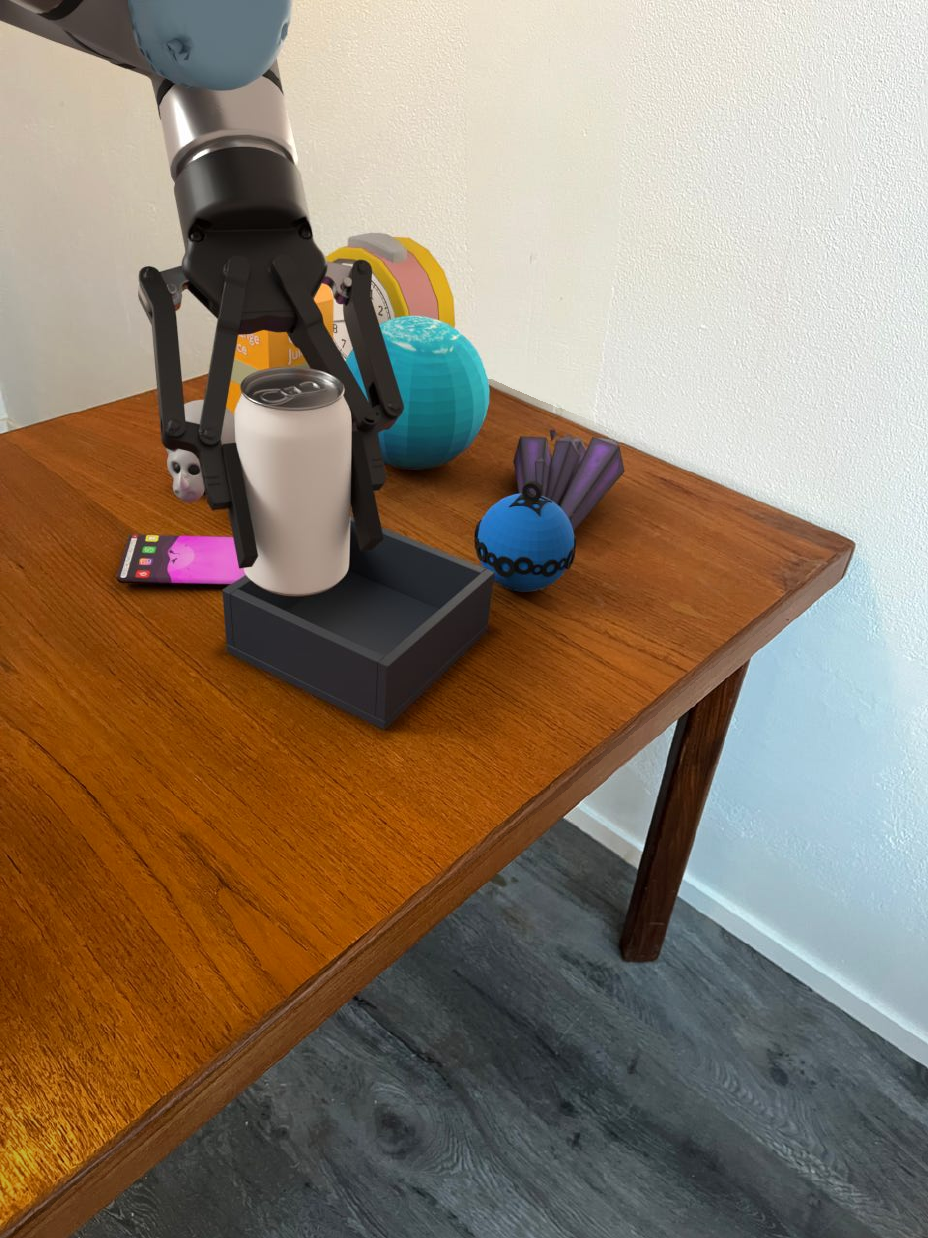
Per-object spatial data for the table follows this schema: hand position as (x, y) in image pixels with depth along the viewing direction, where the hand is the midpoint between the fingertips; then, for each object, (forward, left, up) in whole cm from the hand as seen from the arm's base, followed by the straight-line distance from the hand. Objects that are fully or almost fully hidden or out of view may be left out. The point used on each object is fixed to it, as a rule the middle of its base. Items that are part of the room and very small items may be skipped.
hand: (311, 552), depth 56 cm
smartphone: (-21, +14, -17) cm, 30 cm away
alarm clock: (-31, +52, -17) cm, 63 cm away
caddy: (-5, +13, -17) cm, 22 cm away
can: (-3, +2, -4) cm, 5 cm away
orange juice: (-34, +38, -17) cm, 54 cm away
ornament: (+1, +28, -17) cm, 32 cm away
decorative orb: (-19, +41, -17) cm, 48 cm away
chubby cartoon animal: (-30, +22, -17) cm, 41 cm away
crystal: (-3, +44, -17) cm, 47 cm away
